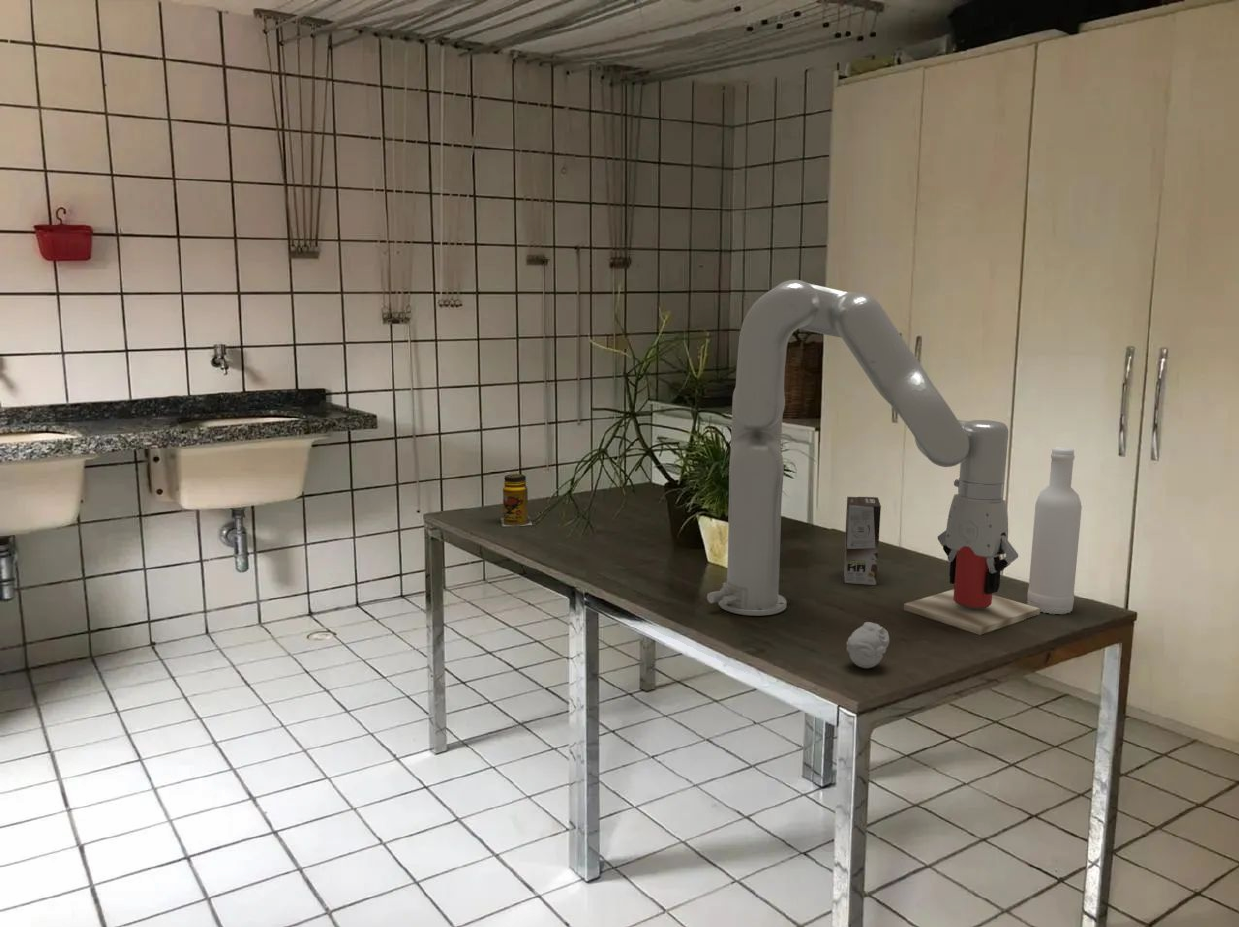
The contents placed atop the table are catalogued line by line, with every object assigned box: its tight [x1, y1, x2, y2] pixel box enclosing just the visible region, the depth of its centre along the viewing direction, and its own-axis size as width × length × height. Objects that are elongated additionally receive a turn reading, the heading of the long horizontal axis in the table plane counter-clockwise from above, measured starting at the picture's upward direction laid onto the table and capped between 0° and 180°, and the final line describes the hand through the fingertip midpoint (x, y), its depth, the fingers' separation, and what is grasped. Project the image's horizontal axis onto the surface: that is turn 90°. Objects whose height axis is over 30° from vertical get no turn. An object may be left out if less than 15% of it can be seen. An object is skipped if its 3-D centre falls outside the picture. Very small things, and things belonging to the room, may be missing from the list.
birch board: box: [903, 588, 1041, 636], centre depth 182 cm, size 18×16×1 cm
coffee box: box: [843, 496, 882, 586], centre depth 202 cm, size 9×6×16 cm
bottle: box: [1026, 446, 1083, 615], centre depth 182 cm, size 8×8×30 cm
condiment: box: [500, 473, 533, 527], centre depth 247 cm, size 7×8×12 cm
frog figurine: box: [846, 621, 890, 669], centre depth 156 cm, size 6×7×7 cm
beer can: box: [953, 542, 995, 609], centre depth 180 cm, size 7×7×12 cm
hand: (973, 586), depth 180 cm, fingers closed on beer can, 6 cm apart
